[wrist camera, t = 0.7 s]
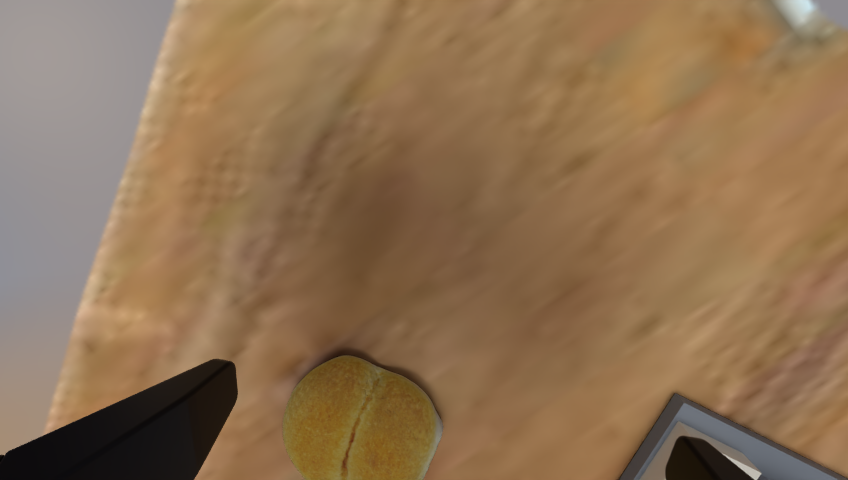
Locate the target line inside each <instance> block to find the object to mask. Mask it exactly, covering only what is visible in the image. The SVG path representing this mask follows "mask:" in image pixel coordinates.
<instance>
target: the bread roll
mask: <svg viewBox="0 0 848 480" xmlns="http://www.w3.org/2000/svg"><path fill="white" fill-rule="evenodd" d="M442 432H443V423H442V421H441V419H440V417H439V415H438V413H437V412H436V410H435V408H434V405H433V403H432V402H431V400H430V398H429V397H428V395H427V394H426V393H425V392H424V391H423V390H422V389H421V388H420V387H419V386H418V385H416V384H415V383H413V382H412V381H410V380H408V379H407V378H405V377H404V376H402V375H399V374H396V373H393V372H390V371H388V370H385V369H382V368H380V367H377V366H375V365H373V364H371V363H370V362H368V361H366V360H364V359H361V358H358V357H355V356H349V355H344V356H339V357H336V358H334V359H331V360H329V361H327V362H325V363H323V364H321V365H320V366H318V367H316V368H315V369H313V370H312V371H311V372H309V373H308V374H307V375H306V376H305V377H304V378H303V379H302V380H301V381H300V382H299V383H298V385H297V386H296V387H295V389H294V390H293V392H292V394H291V396H290V399H289V401H288V403H287V406H286V410H285V414H284V418H283V440H284V444H285V447H286V450H287V453H288V455H289V457H290V459H291V461H292V462H293V464H294V466H295V467H296V468H297V470H298V471H299V472H300V473H301V475H302V476H303V477H304V478H305V479H306V480H423V479H424V476H425V474H426V472H427V470H428V468H429V465H430V462H431V460H432V458H433V456H434V454H435V452H436V449H437V446H438V443H439V442H440V439H441V436H442Z"/></svg>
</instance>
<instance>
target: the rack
mask: <svg viewBox="0 0 848 480" xmlns="http://www.w3.org/2000/svg"><path fill="white" fill-rule="evenodd" d="M679 436H690V437H696V438H701V439H704V440H706V441H707V442H708V443H710V444H711V445H712V446H713V447H714V448H716V449H717V450H718V451H719V452H721V453H722V454H723V455H724V456H726V457H727V458H728V459H729V460H731V461H732V462H733V463H734V464H736V465H737V466H738V467H739V468H741V469H742V470H743V471H744V472H746V473H747V474H748V475H749V476H751V477H752V478H753V479H754V480H757V479H758V478H759V476H760V475H762V476H764V477H766V478H768V479H770V480H848V479H847V478H845V477H843V476H841V475H839V474H837V473H835V472H833V471H831V470H829V469H827V468H825V467H823V466H821V465H819V464H817V463H815V462H813V461H811V460H809V459H807V458H805V457H803V456H801V455H799V454H797V453H795V452H793V451H791V450H789V449H787V448H785V447H783V446H781V445H779V444H777V443H775V442H773V441H771V440H769V439H767V438H765V437H763V436H760V435H758V434H756V433H754V432H752V431H750V430H748V429H746V428H744V427H742V426H740V425H738V424H736V423H734V422H732V421H730V420H728V419H726V418H724V417H722V416H720V415H718V414H716V413H714V412H712V411H710V410H708V409H706V408H704V407H702V406H700V405H698V404H696V403H694V402H692V401H690V400H688V399H686V398H684V397H682V396H680V395H678V394H676V393H675V394H674V396H673V397H672V399H671V400H670V402H669V403H668V405H667V406H666V408H665V410H664V411H663V413H662V414H661V416H660V417H659V419H658V420H657V422H656V423H655V425H654V427H653V428H652V430H651V431H650V433H649V434H648V436H647V437H646V439H645V440H644V442H643V443H642V445H641V447H640V448H639V450H638V451H637V453H636V454H635V456H634V457H633V459H632V460H631V462H630V463H629V465H628V467H627V468H626V470H625V471H624V473H623V474H622V476H621V477H620V479H619V480H666V477H665V468H666V464H667V462H668V459H669V457H670V454H671V451H672V449H673V446H674V444H675V441H676V439H677V438H678V437H679Z"/></svg>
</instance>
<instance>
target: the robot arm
mask: <svg viewBox="0 0 848 480" xmlns="http://www.w3.org/2000/svg"><path fill="white" fill-rule="evenodd" d="M237 395H238V389H237V378H236V368H235V364H234V363H233V362H231V361H227V360H221V359H212V360H210V361H208V362H206V363H203V364H201V365H199V366H197V367H194V368H192V369H190V370H188V371H186V372H183V373H181V374H179V375H177V376H174V377H172V378H170V379H168V380H166V381H163V382H161V383H159V384H157V385H155V386H152V387H150V388H148V389H146V390H143V391H141V392H139V393H137V394H135V395H132V396H130V397H128V398H126V399H123V400H121V401H119V402H117V403H115V404H112V405H110V406H108V407H106V408H104V409H101V410H99V411H97V412H95V413H92V414H90V415H88V416H86V417H84V418H81V419H79V420H77V421H75V422H72V423H70V424H68V425H66V426H64V427H61V428H59V429H57V430H55V431H52V432H50V433H48V434H46V435H44V436H41V437H39V438H37V439H35V440H32V441H30V442H28V443H26V444H24V445H21V446H19V447H17V448H15V449H12V450H10V451H8V452H7V453H6V454H5V456H4V455H0V480H194V479H195V477H196V475H197V474H198V472H199V470H200V469H201V467H202V465H203V463H204V461H205V460H206V458H207V456H208V454H209V452H210V450H211V448H212V446H213V445H214V443H215V441H216V439H217V437H218V435H219V433H220V431H221V429H222V428H223V426H224V424H225V422H226V420H227V418H228V416H229V414H230V413H231V411H232V409H233V407H234V405H235V403H236V400H237ZM665 477H666V480H754V479H753V478H752V477H751V476H749V475H748V474H747V473H746V472H744V471H743V470H742V469H741V468H739V467H738V466H737V465H736V464H734V463H733V462H732V461H731V460H729V459H728V458H727V457H726V456H724V455H723V454H722V453H721V452H719V451H718V450H717V449H716V448H714V447H713V446H712V445H711V444H710V443H708V442H707V441H706V440H704V439H701V438H696V437H690V436H679V437H678V438H677V439H676V441H675V444H674V446H673V449H672V451H671V454H670V457H669V459H668V462H667V464H666V468H665Z"/></svg>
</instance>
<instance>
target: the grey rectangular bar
mask: <svg viewBox="0 0 848 480" xmlns="http://www.w3.org/2000/svg"><path fill="white" fill-rule="evenodd" d="M757 480H770V479H768V478H766V477H764V476H762V475H760V476H759V478H758V479H757Z"/></svg>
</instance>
